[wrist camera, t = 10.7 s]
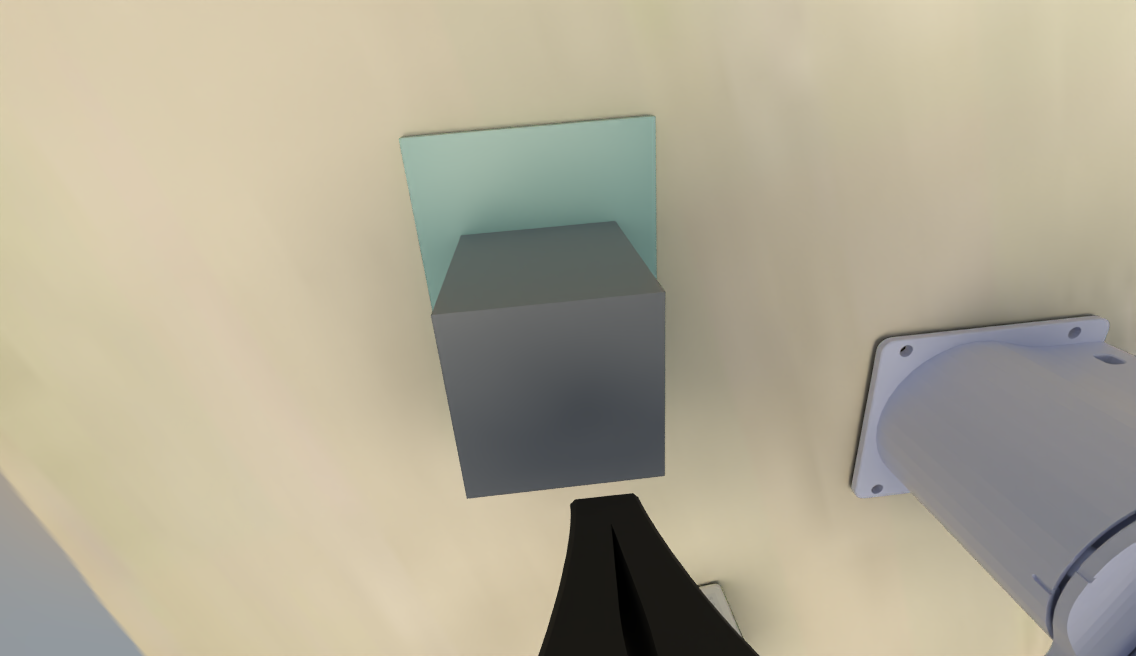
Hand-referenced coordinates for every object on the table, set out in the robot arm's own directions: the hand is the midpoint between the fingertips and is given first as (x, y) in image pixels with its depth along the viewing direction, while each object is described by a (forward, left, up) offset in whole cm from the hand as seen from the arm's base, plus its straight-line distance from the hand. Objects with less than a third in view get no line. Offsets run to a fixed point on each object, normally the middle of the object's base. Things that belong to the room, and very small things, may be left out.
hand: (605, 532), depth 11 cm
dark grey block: (+1, -2, -9) cm, 10 cm away
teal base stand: (+1, -2, -10) cm, 10 cm away
